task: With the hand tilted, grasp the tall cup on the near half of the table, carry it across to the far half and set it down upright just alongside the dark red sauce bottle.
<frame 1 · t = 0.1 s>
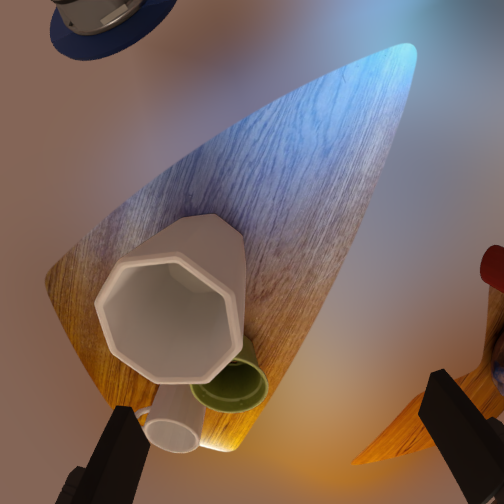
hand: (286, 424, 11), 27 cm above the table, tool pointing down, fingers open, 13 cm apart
cup: (203, 255, 37), on the table
sauce bottle: (492, 264, 37), on the table
plant pot: (232, 348, 41), on the table
mug: (172, 393, 43), on the table
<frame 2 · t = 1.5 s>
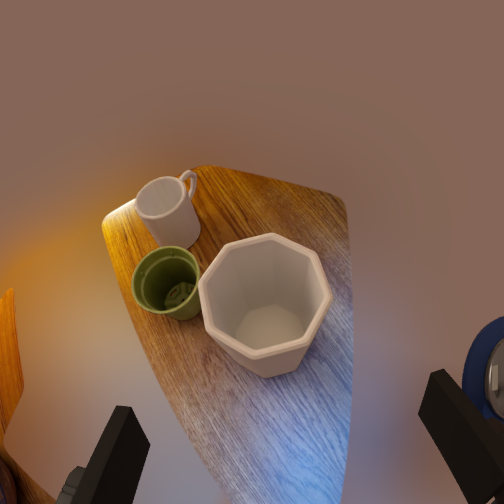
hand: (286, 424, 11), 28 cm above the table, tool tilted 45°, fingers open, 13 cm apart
bowl: (4, 479, 26), on the table
cup: (270, 339, 40), on the table
plant pot: (184, 301, 44), on the table
mug: (185, 224, 51), on the table
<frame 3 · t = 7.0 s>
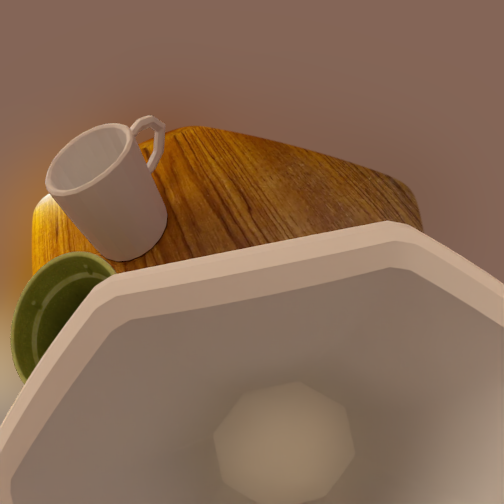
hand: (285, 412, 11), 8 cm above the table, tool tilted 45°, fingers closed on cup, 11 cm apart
cup: (284, 446, 17), on the table, touching gripper
plant pot: (125, 356, 21), on the table
mug: (143, 213, 28), on the table
when the fingers open (8 cm above the table, at t = 21.7 s): cup stays where it is, on the table.
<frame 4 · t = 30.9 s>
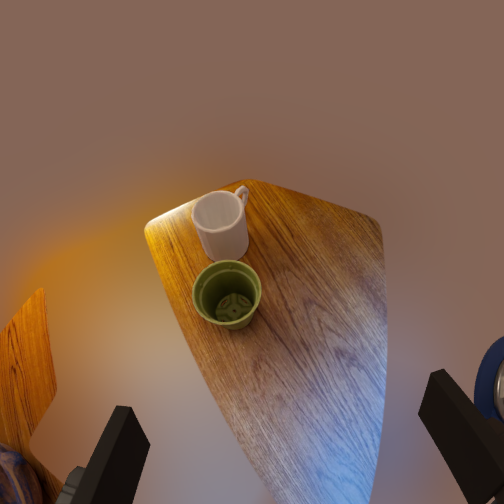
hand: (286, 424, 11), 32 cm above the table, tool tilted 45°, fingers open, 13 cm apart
bowl: (26, 481, 29), on the table
plant pot: (234, 311, 46), on the table
mug: (232, 236, 54), on the table
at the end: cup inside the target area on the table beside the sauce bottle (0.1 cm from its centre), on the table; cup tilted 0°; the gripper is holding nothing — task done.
